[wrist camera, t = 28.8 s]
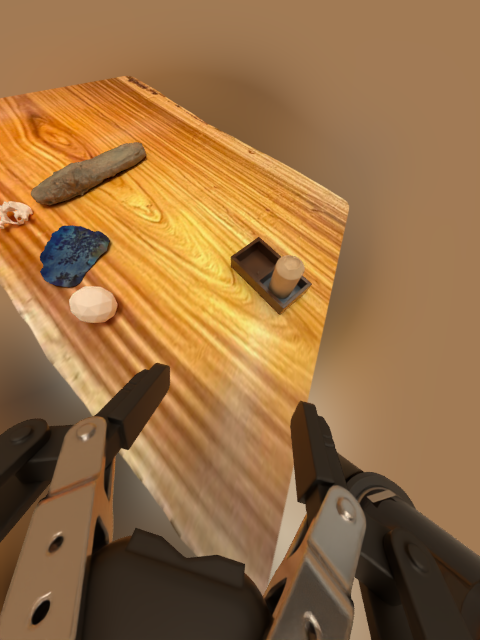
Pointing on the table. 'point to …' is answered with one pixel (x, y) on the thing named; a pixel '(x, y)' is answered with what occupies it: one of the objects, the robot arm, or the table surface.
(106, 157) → the long grey stone
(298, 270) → the candle
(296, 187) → the table surface
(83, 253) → the rock
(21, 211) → the pelvis model
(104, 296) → the geometric ball
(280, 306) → the box
